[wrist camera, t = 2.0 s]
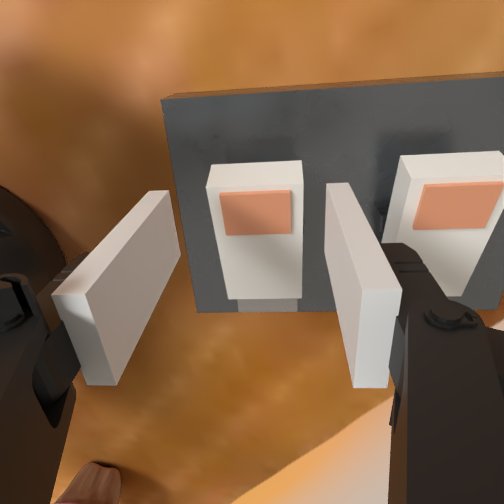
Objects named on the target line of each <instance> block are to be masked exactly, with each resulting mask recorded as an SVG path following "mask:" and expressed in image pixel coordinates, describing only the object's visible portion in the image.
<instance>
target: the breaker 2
mask: <svg viewBox="0 0 504 504" xmlns="http://www.w3.org/2000/svg"><path fill="white" fill-rule="evenodd" d="M503 209H504V155H503V154H502V153H501V152H500V151H484V152H463V153H443V154H422V155H401V156H400V159H399V163H398V168H397V173H396V177H395V182H394V187H393V191H392V196H391V201H390V205H389V210H388V215H387V219H386V224H385V228H384V233H383V238H382V242H381V243H404V244H406V245H407V246H409V247H410V248H412V249H414V250H415V251H416V252H417V253H418V255H419V256H420V258H421V259H422V261H423V264H425V265H426V267H427V268H428V270H429V272H430V273H431V274H432V276H433V277H434V279H435V280H436V281H437V283H438V284H439V286H440V287H441V289H442V290H443V292H444V293H445V295H446V296H462V294H463V292H464V289H465V287H466V285H467V283H468V281H469V279H470V277H471V275H472V273H473V271H474V269H475V267H476V265H477V263H478V261H479V258H480V256H481V254H482V252H483V250H484V248H485V246H486V244H487V242H488V240H489V238H490V236H491V234H492V232H493V229H494V227H495V225H496V223H497V221H498V219H499V217H500V215H501V213H502V211H503Z"/></svg>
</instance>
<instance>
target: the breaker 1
mask: <svg viewBox="0 0 504 504" xmlns="http://www.w3.org/2000/svg"><path fill="white" fill-rule="evenodd" d="M303 190H304V182H303V171H302V160H298V161H277V162H256V163H235V164H215V165H211V169H210V173H209V177H208V181H207V185H206V191H207V196H208V201H209V206H210V211H211V216H212V221H213V226H214V231H215V236H216V241H217V246H218V251H219V256H220V261H221V266H222V271H223V276H224V281H225V285H226V290H227V295H228V299H290V298H302V253H303Z"/></svg>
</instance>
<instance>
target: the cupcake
mask: <svg viewBox="0 0 504 504" xmlns="http://www.w3.org/2000/svg"><path fill="white" fill-rule="evenodd" d="M121 488H122V487H121V479H120V472H119V471H118V469H115V468H107V467H102V466H100V465H98V464H96V463H93V462H90V463H88V464H86V465H85V466H84V467H83V468H82V469H81V470H80V471H79V472H78V474H77V475H76V476H75V478H74V479H73V481H72V482H71V483H70V485H69V486H68V488H67V489H66V490H65V492H64V493H63V494H62V495H61V496H60V497H59V498H58V499H57V501H56V502H55V503H54V504H118V503H119V498H120V493H121Z"/></svg>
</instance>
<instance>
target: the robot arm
mask: <svg viewBox="0 0 504 504" xmlns="http://www.w3.org/2000/svg"><path fill="white" fill-rule="evenodd" d="M324 252H325V257H326V262H327V267H328V271H329V276H330V281H331V285H332V290H333V295H334V299H335V304H336V309H337V314H338V318H339V323H340V328H341V332H342V337H343V342H344V346H345V351H346V356H347V361H348V365H349V370H350V375H351V379H352V384H353V388H387V386H388V379H389V373H391V376H392V379H393V382H394V385H395V393H394V399H393V405H392V411H391V417H390V422H389V425H391V426H392V432H391V452H390V472H389V493H388V504H504V331H501V330H496V329H493V328H489V327H486V326H485V325H484V323H483V321H482V319H481V317H480V316H479V315H478V314H477V313H476V312H474V311H473V310H472V309H471V308H469V307H467V306H465V305H463V304H461V303H459V302H456V301H452V300H449V299H448V298H447V296H446V295H445V293H444V292H443V290H442V289H441V287H440V286H439V284H438V283H437V281H436V280H435V279H434V277H433V276H432V274H431V273H430V272H429V270H428V268H427V267H426V265H425V264H423V261H422V259H421V258H420V256H419V255H418V253H417V252H416V251H415V250H414V249H412V248H410V247H409V246H407V245H406V244H404V243H379V242H378V240H377V238H376V236H375V234H374V232H373V230H372V228H371V226H370V225H369V223H368V221H367V219H366V217H365V215H364V213H363V211H362V209H361V207H360V205H359V203H358V201H357V199H356V197H355V195H354V193H353V191H352V189H351V187H350V185H349V183H326V212H325V244H324ZM180 256H181V253H180V248H179V243H178V237H177V232H176V226H175V221H174V215H173V210H172V204H171V199H170V193H169V190H161V191H148V192H147V194H146V195H145V196H144V197H143V198H142V199H141V200H140V201H139V202H138V203H137V204H136V205H135V206H134V207H133V208H132V209H131V210H130V212H129V213H128V214H127V215H126V216H125V217H124V218H123V219H122V220H121V221H120V222H119V223H118V224H117V225H116V226H115V227H114V229H113V230H112V231H111V232H110V233H109V234H108V235H107V236H106V237H105V238H104V239H103V240H102V241H101V242H100V243H99V244H98V245H97V247H96V248H95V249H94V250H93V251H92V252H86V253H84V254H82V255H80V256H79V257H77V258H75V259H74V260H72V261H70V262H69V263H68V264H67V265H66V262H65V259H64V257H63V254H62V252H61V250H60V248H59V246H58V244H57V242H56V241H55V239H54V237H53V236H52V234H51V233H50V231H49V230H48V229H47V227H46V226H45V225H44V224H43V223H42V221H41V220H40V219H39V218H38V217H37V216H36V215H35V214H34V213H33V212H32V211H31V210H30V209H29V208H28V207H27V206H26V205H25V204H23V203H22V202H21V201H20V200H18V199H17V198H16V197H15V196H13V195H12V194H10V193H9V192H7V191H6V190H4V189H3V188H1V187H0V504H50V501H51V497H52V493H53V489H54V485H55V481H56V477H57V473H58V469H59V465H60V461H61V457H62V453H63V449H64V445H65V441H66V437H67V433H68V429H69V425H70V421H71V417H72V413H73V408H74V404H75V400H76V390H75V388H74V385H73V383H72V381H73V379H74V378H75V376H76V374H77V373H78V371H79V370H80V369H81V371H82V374H83V376H84V379H85V381H86V384H87V385H101V386H117V384H118V382H119V380H120V378H121V376H122V374H123V372H124V369H125V367H126V365H127V363H128V361H129V359H130V357H131V355H132V353H133V351H134V349H135V347H136V345H137V343H138V341H139V339H140V337H141V335H142V333H143V331H144V329H145V327H146V325H147V323H148V321H149V319H150V317H151V315H152V313H153V311H154V309H155V306H156V304H157V302H158V300H159V298H160V296H161V294H162V292H163V290H164V288H165V286H166V284H167V282H168V280H169V278H170V276H171V274H172V272H173V270H174V268H175V266H176V264H177V262H178V260H179V258H180Z"/></svg>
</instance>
